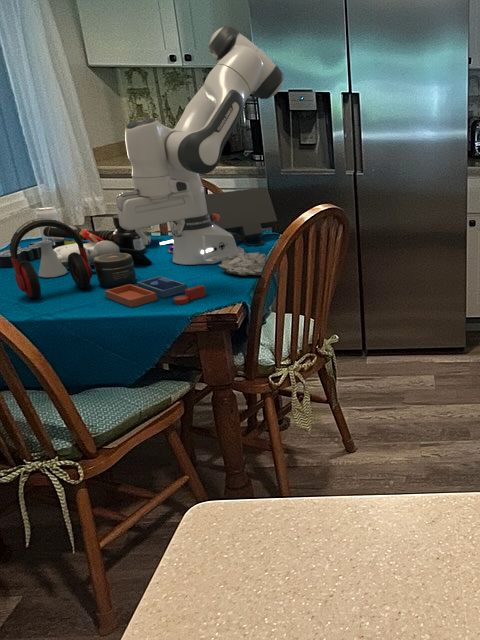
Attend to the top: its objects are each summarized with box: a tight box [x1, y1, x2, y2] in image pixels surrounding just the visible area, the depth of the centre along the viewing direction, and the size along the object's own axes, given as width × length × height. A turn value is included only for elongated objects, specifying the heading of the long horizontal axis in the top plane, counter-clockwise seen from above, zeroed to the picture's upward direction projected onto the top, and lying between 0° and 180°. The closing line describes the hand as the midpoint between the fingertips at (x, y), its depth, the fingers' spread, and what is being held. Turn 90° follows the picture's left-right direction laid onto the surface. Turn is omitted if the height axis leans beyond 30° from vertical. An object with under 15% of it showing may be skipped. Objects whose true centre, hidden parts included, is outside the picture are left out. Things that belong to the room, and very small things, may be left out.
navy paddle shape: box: [150, 277, 174, 290], centre depth 179 cm, size 9×4×3 cm, turn 53°
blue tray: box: [136, 276, 188, 299], centre depth 180 cm, size 13×7×2 cm, turn 53°
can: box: [35, 205, 65, 241], centre depth 226 cm, size 6×6×12 cm
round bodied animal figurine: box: [84, 240, 120, 265], centre depth 195 cm, size 7×12×8 cm, turn 138°
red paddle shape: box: [173, 284, 207, 305], centre depth 173 cm, size 9×4×3 cm, turn 143°
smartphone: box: [119, 248, 153, 265], centre depth 202 cm, size 7×1×15 cm
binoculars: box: [53, 241, 96, 260], centre depth 206 cm, size 10×16×5 cm, turn 141°
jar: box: [93, 253, 137, 289], centre depth 184 cm, size 10×10×8 cm
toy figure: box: [76, 227, 105, 244], centre depth 214 cm, size 2×7×12 cm
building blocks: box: [167, 245, 173, 254], centre depth 218 cm, size 6×8×2 cm
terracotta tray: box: [104, 283, 158, 308], centre depth 173 cm, size 13×7×2 cm, turn 53°
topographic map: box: [108, 226, 160, 233], centre depth 223 cm, size 19×19×2 cm
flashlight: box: [43, 226, 115, 243], centre depth 218 cm, size 4×5×25 cm
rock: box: [218, 252, 280, 277], centre depth 196 cm, size 17×4×15 cm
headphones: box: [9, 218, 93, 299], centre depth 174 cm, size 18×10×20 cm, turn 134°
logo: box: [0, 238, 73, 268], centre depth 209 cm, size 24×3×10 cm
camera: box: [205, 186, 278, 243], centre depth 229 cm, size 25×16×16 cm, turn 126°
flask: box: [37, 240, 69, 278], centre depth 191 cm, size 7×7×10 cm
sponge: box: [59, 240, 89, 245], centre depth 216 cm, size 10×9×3 cm
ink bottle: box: [112, 214, 146, 253], centre depth 213 cm, size 10×9×12 cm
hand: (163, 240), depth 172 cm, fingers open, 8 cm apart
